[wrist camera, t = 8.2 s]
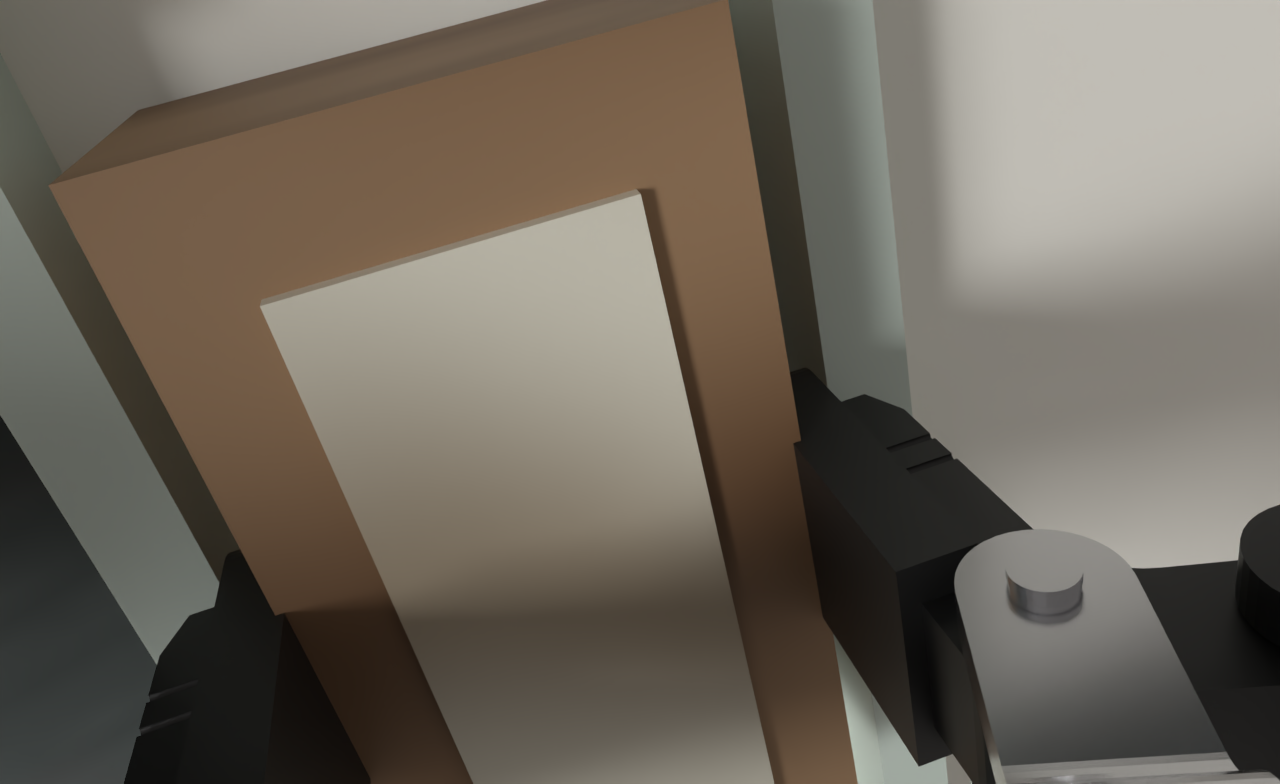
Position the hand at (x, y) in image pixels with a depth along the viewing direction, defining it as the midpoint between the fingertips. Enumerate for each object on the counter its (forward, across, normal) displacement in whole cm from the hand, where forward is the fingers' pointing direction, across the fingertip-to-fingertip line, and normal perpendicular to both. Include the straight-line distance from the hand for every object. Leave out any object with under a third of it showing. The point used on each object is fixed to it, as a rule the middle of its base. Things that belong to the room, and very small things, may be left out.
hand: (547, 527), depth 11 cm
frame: (+1, 0, 0) cm, 1 cm away
